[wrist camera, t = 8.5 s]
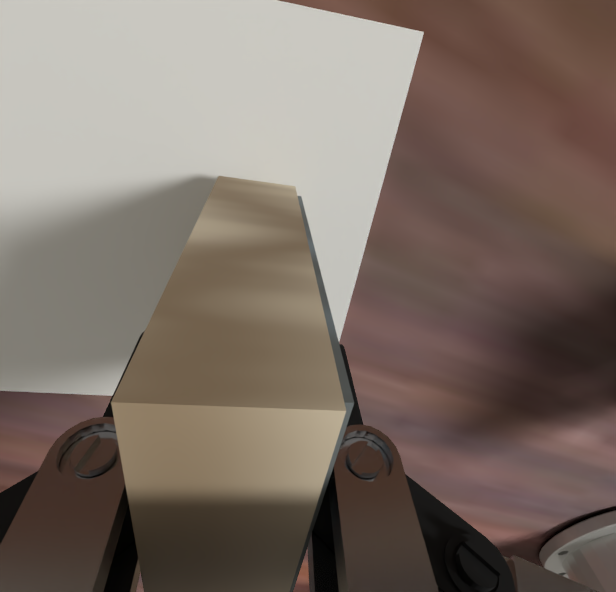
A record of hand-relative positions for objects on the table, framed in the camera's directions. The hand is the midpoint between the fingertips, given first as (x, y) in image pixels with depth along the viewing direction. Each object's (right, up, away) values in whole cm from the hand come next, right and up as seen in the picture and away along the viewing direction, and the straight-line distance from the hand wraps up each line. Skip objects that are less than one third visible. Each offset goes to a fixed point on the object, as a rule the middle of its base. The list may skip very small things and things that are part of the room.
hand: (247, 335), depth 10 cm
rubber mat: (-4, +3, +4) cm, 6 cm away
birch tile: (0, +2, +3) cm, 3 cm away
